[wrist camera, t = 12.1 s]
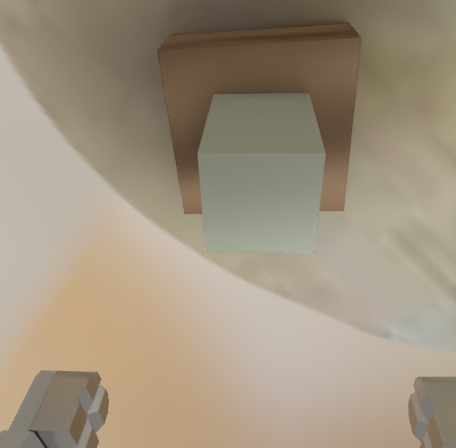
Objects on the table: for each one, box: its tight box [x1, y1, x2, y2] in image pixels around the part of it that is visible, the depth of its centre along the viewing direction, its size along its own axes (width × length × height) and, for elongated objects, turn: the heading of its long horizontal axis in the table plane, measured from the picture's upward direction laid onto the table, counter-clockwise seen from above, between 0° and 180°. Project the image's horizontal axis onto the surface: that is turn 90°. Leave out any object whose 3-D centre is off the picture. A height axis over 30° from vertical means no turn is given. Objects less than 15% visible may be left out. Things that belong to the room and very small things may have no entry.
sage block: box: [198, 93, 326, 253], centre depth 21 cm, size 5×5×7 cm
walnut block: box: [158, 23, 361, 214], centre depth 25 cm, size 10×10×4 cm
